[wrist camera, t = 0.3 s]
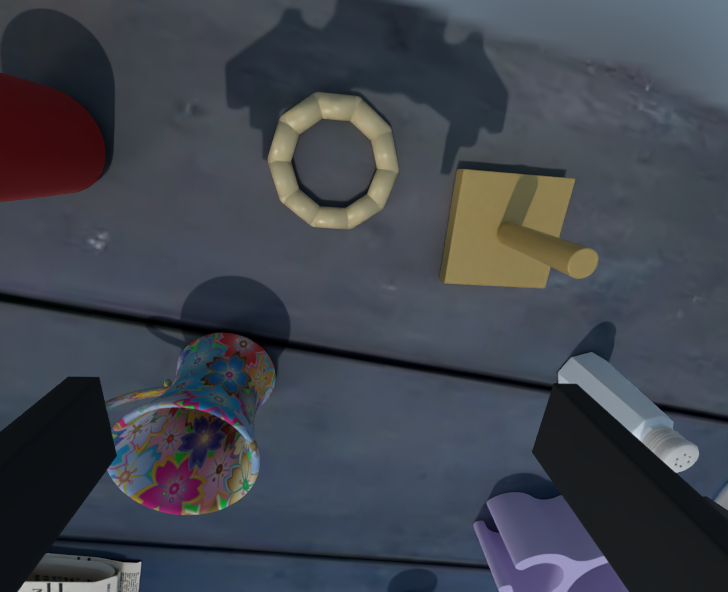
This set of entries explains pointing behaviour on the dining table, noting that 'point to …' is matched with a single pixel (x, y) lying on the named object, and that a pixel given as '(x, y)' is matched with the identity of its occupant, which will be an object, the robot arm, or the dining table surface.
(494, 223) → the square plate with peg
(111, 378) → the dining table surface
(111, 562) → the newspaper
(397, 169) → the ring
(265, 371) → the mug
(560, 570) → the clip
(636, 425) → the pepper shaker
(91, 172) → the beverage can
